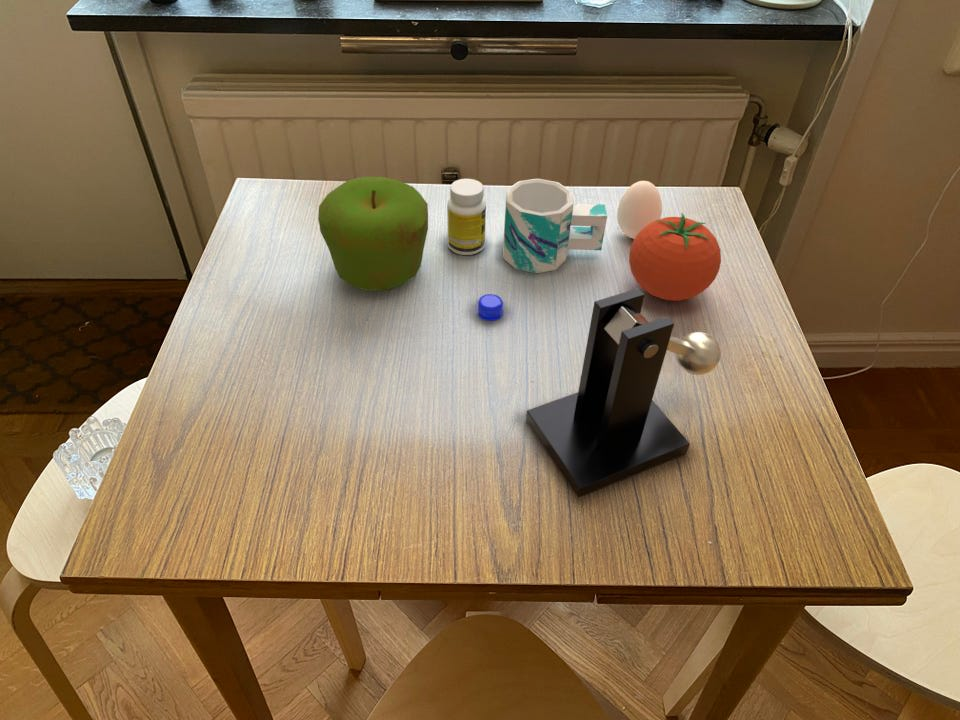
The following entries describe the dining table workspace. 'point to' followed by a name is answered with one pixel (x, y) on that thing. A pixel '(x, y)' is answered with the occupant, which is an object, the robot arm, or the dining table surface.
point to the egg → (638, 208)
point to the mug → (548, 225)
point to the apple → (374, 231)
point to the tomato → (675, 258)
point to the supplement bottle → (466, 217)
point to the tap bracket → (612, 405)
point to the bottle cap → (490, 307)
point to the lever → (673, 343)
